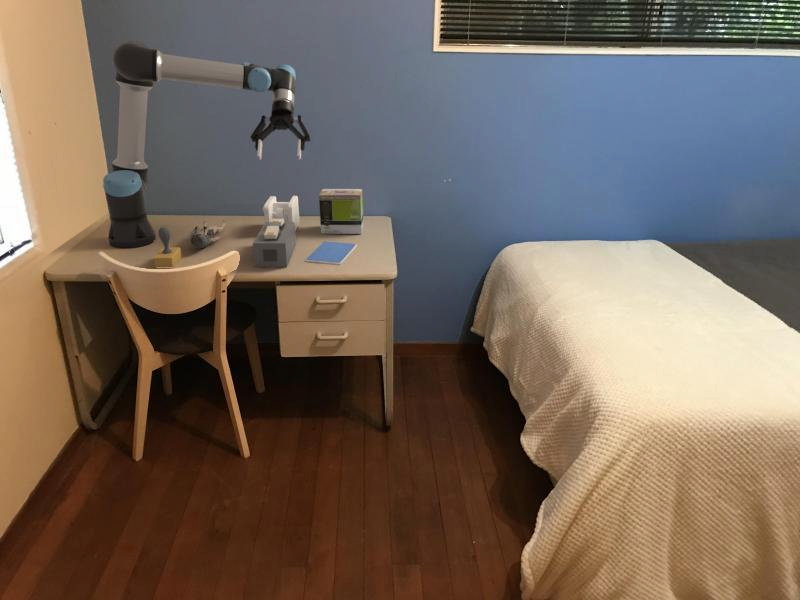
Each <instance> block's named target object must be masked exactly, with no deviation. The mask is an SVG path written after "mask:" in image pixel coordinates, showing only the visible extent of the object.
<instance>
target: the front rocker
mask: <svg viewBox="0 0 800 600" xmlns="http://www.w3.org/2000/svg"><path fill="white" fill-rule="evenodd" d="M278 232H279V226H267V229H266V232H265V234H264V237H265V239H276V238H277V235H278Z"/></svg>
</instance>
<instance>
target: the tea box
mask: <svg viewBox="0 0 800 600" xmlns="http://www.w3.org/2000/svg"><path fill="white" fill-rule="evenodd" d="M363 197H364V196H363V189H362V188H322V190H321V191H320V193H319V195H318V203H319V204H318V205H319V206H318V207H319V219H320V220H319V222H320V223H319V224H320V233H321V235H322V234H323V235H324V234H329V235H331V234H334V235H336V234H337V235H350V234H351V235H352V234H353V235H354V234H355V235H356V234H357V235H361V234H362V233H363V229H364V203H363V200H364V199H363ZM362 228H363V229H362Z"/></svg>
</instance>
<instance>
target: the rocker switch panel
mask: <svg viewBox="0 0 800 600" xmlns="http://www.w3.org/2000/svg"><path fill="white" fill-rule="evenodd" d="M267 226H270V222H265V221H264V224H263V225H262V226H261V229H260V231H259V232H258V233H257V236H256V237H255V238H254V240H253V242H252V249H253V251H252V252H253V259H254V261H253V262H254V268H255V267H287V266H289V263H290V262H291V260H292V257H293V253H294V251H295V249H296V245H297V238H296V237H297V236H296V231H295V222H284V224H283V225H282V226H279V232H278V235H277V238H276V239H265V237H264V234H265V232H266V229H267ZM287 268H288V267H287Z"/></svg>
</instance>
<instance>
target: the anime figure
mask: <svg viewBox="0 0 800 600" xmlns="http://www.w3.org/2000/svg"><path fill="white" fill-rule="evenodd" d="M225 227H226V221H225V220H222V222H221V225H220V226H217V225H210V226H207V221H203V222H202V226H195V227H193V229H192V231H191V232H190V243H191V246H193V247H194V248H196V249H202V248H206V247H208V246H209V245H210V244H211V243H213V242H217V241H218V240H219V239H221V235H218V236H217V237H215V234H216V233H221V232H222V231H223V230H224V229H225Z"/></svg>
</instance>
